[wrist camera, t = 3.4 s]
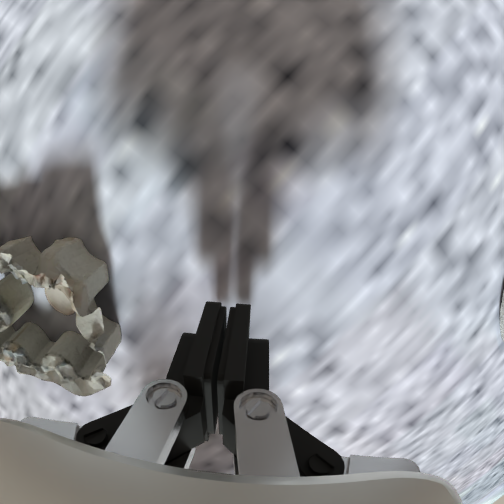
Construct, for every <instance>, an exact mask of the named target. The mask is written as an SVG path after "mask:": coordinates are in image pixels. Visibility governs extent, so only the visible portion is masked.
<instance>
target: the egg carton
mask: <svg viewBox="0 0 504 504" xmlns="http://www.w3.org/2000/svg"><path fill="white" fill-rule="evenodd" d="M9 271H10V272H11V273H10V274H8V275H7V276H6V277H4V278H3V279H2V280H0V361H3V362H5V364H6V365H7V366H14V365H15V366H16V369H17V372H18V373H19V374H28V375H32V376H35V377H37V378H39V379H41V380H44V381H51V382H54V383H56V384H58V385H60V386H62V387H63V388H65V389H66V390H68V391H70V392H71V393H73V394H75V395H79V396H88V395H92V394H94V393H96V392H99V391H101V390H103V389H105V388H107V387H109V386H111V378H110V377H109V376H107V375H106V374H104V373H103V371H104V369H105V367H106V364H107V363H108V361H109V360H110V358H111V357H112V355H113V354H114V352H115V350H116V349H117V347H118V345H119V344H120V342H121V331H120V326H119V324H118V323H116V322H113V321H111V320H109V319H107V318H106V317H105V316H104V315H103V314H102V312H101V308H98V307H97V305H96V303H95V300H94V297H95V296H96V295H97V293H98V292H99V291H100V290H101V289H102V288H103V287H104V286H105V285H106V284H107V283H108V282H109V276H108V270H107V264H106V262H104V261H102V260H99V259H97V258H95V257H94V256H92V255H91V254H90V253H89V252H88V251H87V249H86V248H85V246H84V244H83V242H82V240H80V239H78V238H75V237H68V238H63V239H59V240H55V241H54V243H53V244H52V245H51V246H50V247H48V248H46V249H45V250H44V251H43V252H42V253H41V252H40V251H39V250H38V249H37V248H36V246H35V244H34V242H33V240H32V237H31V236H28V237H24V238H20V239H17V240H12V241H8V242H7V243H5V244H4V245H2V246H0V273H1V274H2V273H6V272H9ZM29 284H30V285H33V286H34V287H37V288H45V294H46V297H47V299H48V301H49V303H50V305H51V306H52V307H53V308H54V309H55V310H56V311H58V312H60V313H62V314H64V315H72V314H74V312H76V326H77V328H78V330H79V331H80V333H81V334H82V335H80V334H78V333H76V332H74V331H66V332H64V333H63V334H62V335H61V336H60V338H59V339H58V340H57V341H56V342H52V341H50V340H49V338H48V337H47V335H46V334H45V332H44V331H43V330H42V329H41V328H40V327H39V326H38V325H36V324H34V323H32V322H26V323H25V324H24V325H23V326H22V327H21V328H20V329H19V330H18V331H17V332H16V331H15V330H14V328H13V326H12V324H13V323H14V322H16V321H17V320H18V319H19V318H20V317H21V316H22V315H23V314H24V313H25V312H26V311H27V310H28V309H29V308H30V307H31V305H32V303H33V301H34V296H33V292H32V289H31V287H30V285H29ZM86 339H87V340H88V341H89V342H90V343H89V342H88V341H87V340H86Z"/></svg>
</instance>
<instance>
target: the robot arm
mask: <svg viewBox="0 0 504 504" xmlns="http://www.w3.org/2000/svg"><path fill="white" fill-rule="evenodd" d="M250 309H251V305H248V304H236V307H230V312H229V317H228V323H227V328H226V307H223V306H221V303H220V302H208V301H207V302H206V304H205V307H204V310H203V313H202V317H201V320H200V323H199V326H198V329H197V332H196V334H192V333H183V334H182V336H181V339H180V342H179V344H178V347H177V350H176V352H175V355H174V358H173V361H172V363H171V366H170V369H169V372H168V374H167V377H166V379H160V380H156V381H153V382H151V383H149V384H148V385H146V387H145V388H144V389H143V390H142V392H141V393H140V395H139V396H138V398H137V399H136V401H135V403H134V404H133V405H131V406H129V407H126V408H124V409H121V410H119V411H117V412H114V413H112V414H109V415H107V416H104V417H102V418H99V419H97V420H94V421H91V422H89V423H87V424H85V425H83V426H78V424H77V423H71V422H63V421H56V420H49V419H43V418H37V417H27V418H24V419H23V420H21V421H17V420H12V419H5V418H0V504H463V502H462V500H461V498H460V496H459V494H458V493H457V491H456V489H455V488H454V487H453V486H452V485H451V484H450V483H449V482H448V481H447V480H445V479H443V478H441V477H438V476H435V475H431V474H426V473H421V472H420V470H419V467H418V466H417V464H416V463H415V462H413V461H411V460H410V459H405V458H385V457H370V456H359V455H350V457H343V456H340V455H339V454H338V453H337V452H336V451H334V450H333V449H331V448H330V447H328V446H327V445H325V444H324V443H322V442H321V441H319V440H318V439H317V438H315V437H314V436H312V435H311V434H309V433H308V432H307V431H305V430H304V429H302V428H301V427H300V426H298V425H297V424H295V423H294V422H293V421H291V420H290V419H289V418H287V417H286V416H285V412H284V408H283V404H282V402H281V400H280V398H279V397H278V396H277V395H276V394H274V393H273V392H271V391H269V340H267V339H250V338H249V326H250ZM500 331H501V337H502V340H503V342H504V291H503V297H502V303H501V309H500ZM217 417H218V419H219V434H223V445H224V446H225V447H227V448H228V449H229V450H230V451H231V452H232V453H233V463H234V473H235V475H233V474H222V473H213V472H205V471H197V470H191V469H188V468H189V466H190V463H191V461H192V458H193V456H194V454H195V449H196V446H198V445H200V444H202V443H203V442H204V441H208V438H209V433H213V434H215V430H216V424H217Z"/></svg>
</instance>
